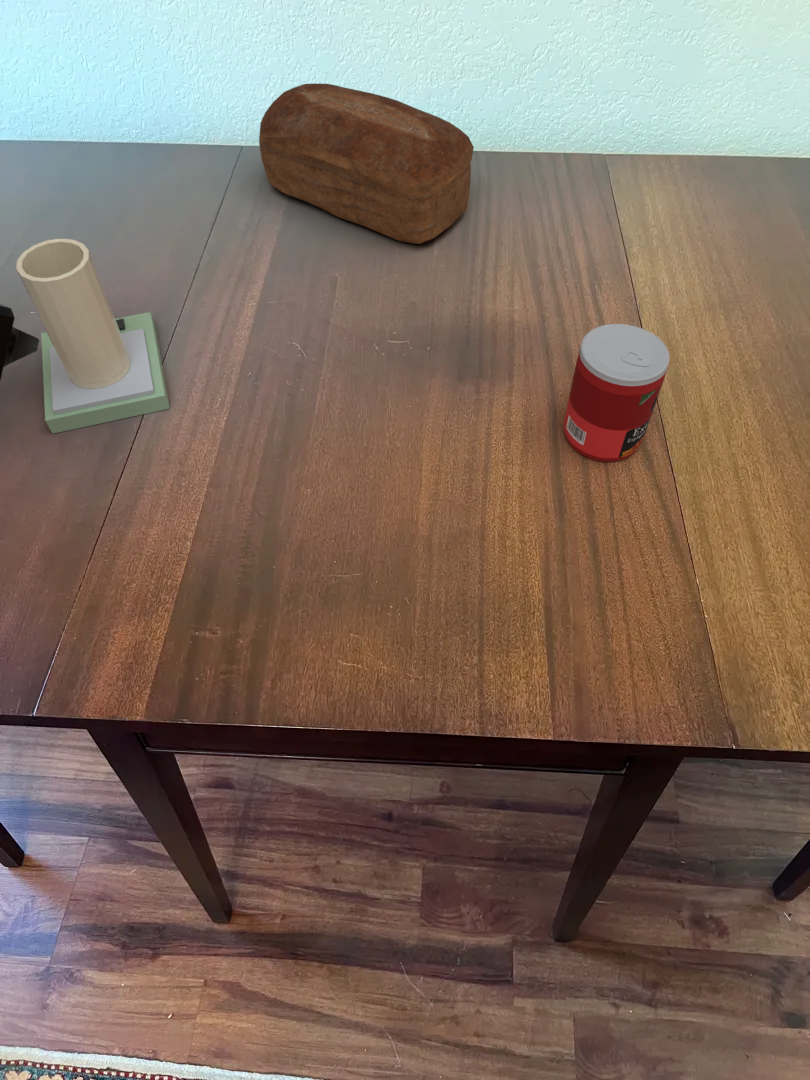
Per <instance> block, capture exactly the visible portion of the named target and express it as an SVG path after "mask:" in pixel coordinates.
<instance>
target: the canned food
mask: <svg viewBox="0 0 810 1080" xmlns="http://www.w3.org/2000/svg"><path fill="white" fill-rule="evenodd" d="M669 364H670V352H669V350H668V347H667V346H666V344H665V342H664V341H663V340H661V338H659V337H658V336H657V335H655V334H654V333H653V332H651V331H649V330H647V329H644V328H642V327H639V326H636V325H632V324H627V323H608V324H603V325H600V326H597V327H595V328H593V329H591V330H589V331H588V332H587V333H586V334H585V336H584V337H583V338H582V340H581V344H580V346H579V350H578V354H577V358H576V361H575V368H574V373H573V376H572V382H571V386H570V391H569V396H568V400H567V406H566V410H565V415H564V420H563V430H564V435H565V439H566V441H567V443H568V444H569V445H570V447H571V448H572V449H573V450H574V451H575V452H577V453H578V454H580V455H581V456H583V457H585V458H587V459H590V460H592V461H596V462H602V463H604V462H605V463H615V462H620V461H623V460H625V459H628V458H629V457H631V456H633V454H635V452H636V451H638V449H640V446H642V443H643V441H644V438H645V435H646V433H647V429H648V427H649V424H650V421H651V418H652V416H653V413H654V410H655V407H656V404H657V401H658V398H659V395H660V392H661V390H662V387H663V384H664V382H665V379H666V375H667V372H668V368H669Z"/></svg>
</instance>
